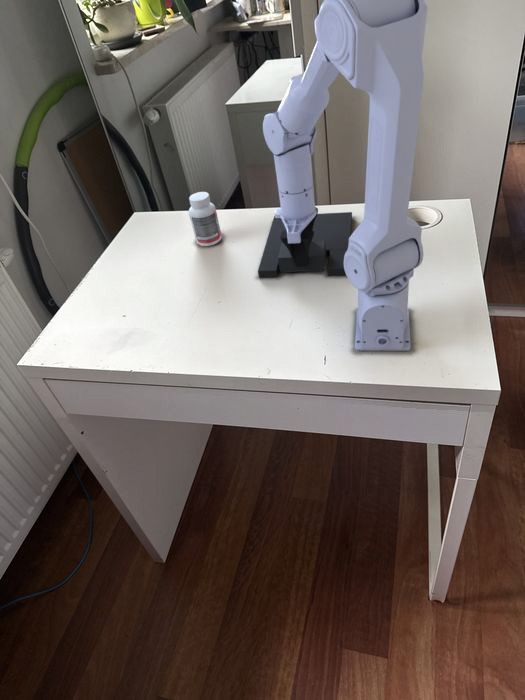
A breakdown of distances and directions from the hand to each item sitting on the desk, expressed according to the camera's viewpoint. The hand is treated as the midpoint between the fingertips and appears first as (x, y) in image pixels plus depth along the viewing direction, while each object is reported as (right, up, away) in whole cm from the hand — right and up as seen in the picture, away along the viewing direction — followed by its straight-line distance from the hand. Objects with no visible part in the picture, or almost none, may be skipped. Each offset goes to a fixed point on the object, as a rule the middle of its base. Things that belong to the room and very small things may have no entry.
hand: (303, 256), depth 94 cm
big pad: (+1, +3, +6) cm, 7 cm away
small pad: (0, -1, +1) cm, 1 cm away
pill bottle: (-18, +6, +14) cm, 24 cm away
